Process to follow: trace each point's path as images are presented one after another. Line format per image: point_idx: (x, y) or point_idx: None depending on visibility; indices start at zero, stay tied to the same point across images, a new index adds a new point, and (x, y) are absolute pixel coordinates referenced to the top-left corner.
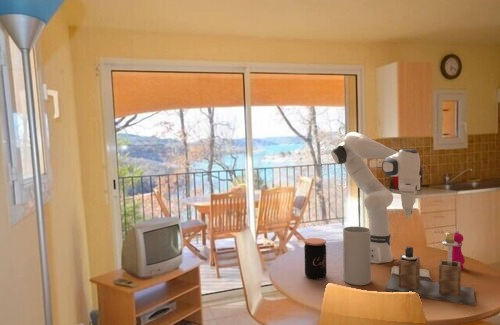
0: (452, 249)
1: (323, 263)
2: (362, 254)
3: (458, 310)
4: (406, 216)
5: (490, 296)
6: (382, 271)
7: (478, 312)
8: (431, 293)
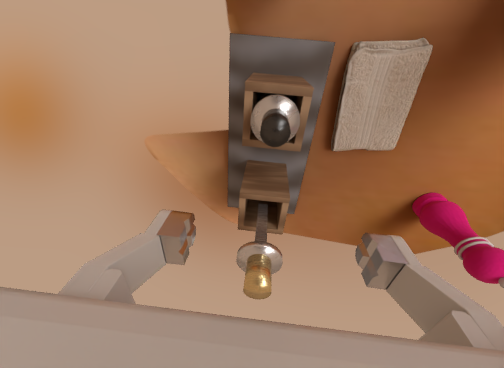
0: (463, 228)
1: None
2: None
3: (199, 179)
4: (155, 221)
5: None
6: (407, 3)
7: (206, 202)
8: (238, 146)
